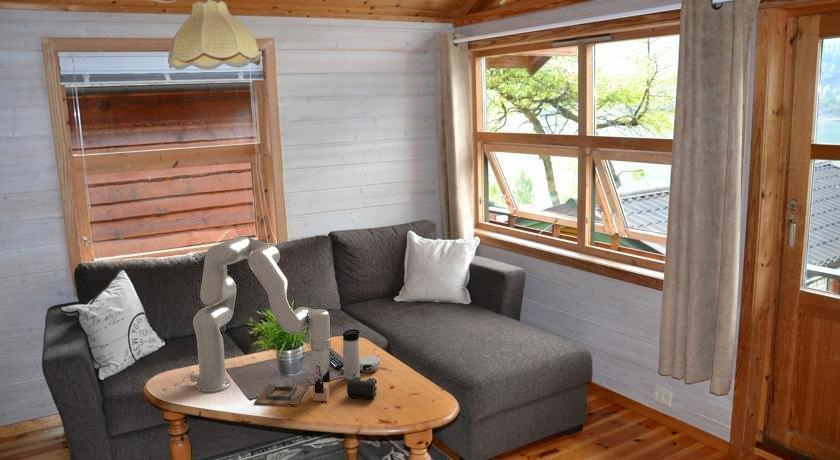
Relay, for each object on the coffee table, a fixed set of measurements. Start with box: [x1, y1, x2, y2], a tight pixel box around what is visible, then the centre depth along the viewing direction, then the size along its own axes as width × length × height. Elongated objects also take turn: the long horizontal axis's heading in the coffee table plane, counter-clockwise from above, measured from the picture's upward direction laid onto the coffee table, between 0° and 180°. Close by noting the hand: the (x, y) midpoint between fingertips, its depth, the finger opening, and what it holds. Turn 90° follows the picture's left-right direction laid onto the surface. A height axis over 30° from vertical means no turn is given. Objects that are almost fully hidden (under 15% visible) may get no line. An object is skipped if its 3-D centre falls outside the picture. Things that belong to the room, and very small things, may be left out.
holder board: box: [253, 383, 310, 407], centre depth 256 cm, size 16×16×2 cm
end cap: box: [346, 376, 378, 400], centre depth 255 cm, size 10×7×7 cm
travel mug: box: [342, 329, 361, 382], centre depth 270 cm, size 6×7×20 cm
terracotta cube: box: [312, 382, 331, 402], centre depth 255 cm, size 5×5×5 cm
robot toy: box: [340, 354, 381, 373], centre depth 281 cm, size 12×4×15 cm
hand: (322, 387), depth 254 cm, fingers open, 9 cm apart
